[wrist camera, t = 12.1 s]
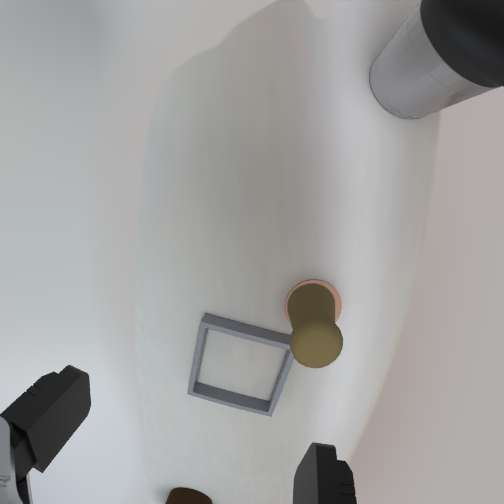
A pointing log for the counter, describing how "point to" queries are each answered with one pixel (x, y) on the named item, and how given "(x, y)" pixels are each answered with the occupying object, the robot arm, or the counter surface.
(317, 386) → the counter surface
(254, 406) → the bin frame
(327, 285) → the salmon pink disc
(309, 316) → the cork
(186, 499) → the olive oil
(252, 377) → the counter surface
